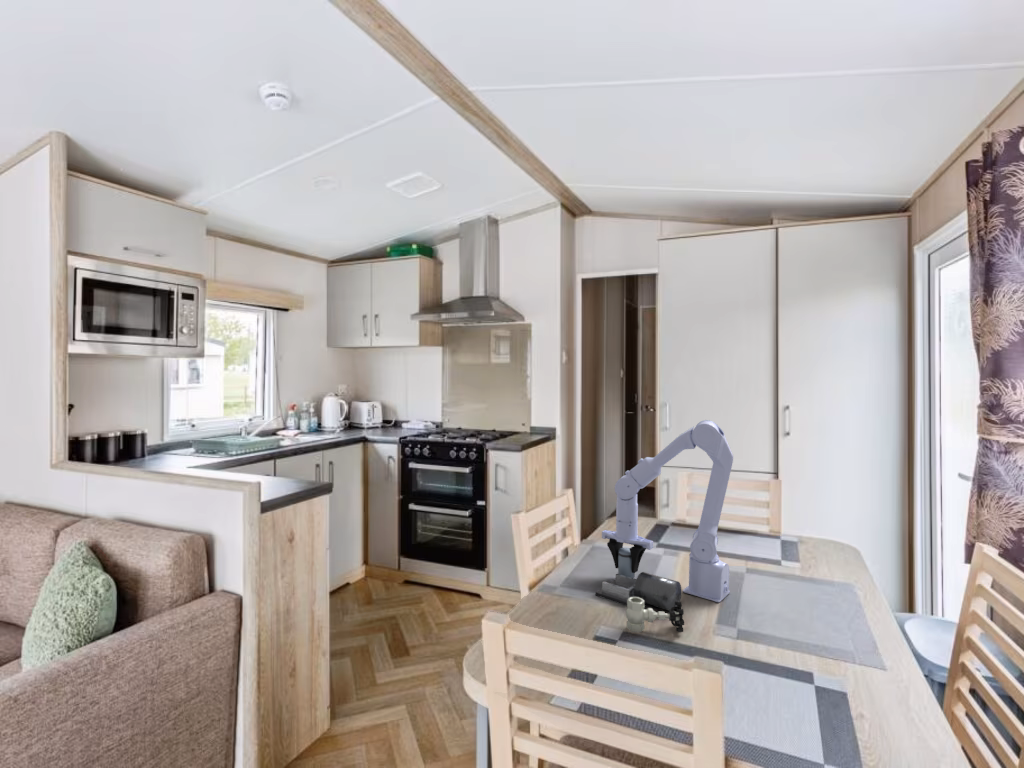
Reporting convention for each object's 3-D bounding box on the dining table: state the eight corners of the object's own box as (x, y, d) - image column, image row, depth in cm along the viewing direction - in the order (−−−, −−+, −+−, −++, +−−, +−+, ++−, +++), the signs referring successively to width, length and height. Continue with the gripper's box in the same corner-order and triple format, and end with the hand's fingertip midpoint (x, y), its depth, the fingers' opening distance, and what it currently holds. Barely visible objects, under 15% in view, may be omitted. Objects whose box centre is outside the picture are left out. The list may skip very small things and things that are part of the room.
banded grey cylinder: (638, 575, 150) (638, 550, 149) (629, 580, 146) (630, 554, 146) (623, 571, 153) (623, 546, 152) (614, 576, 149) (614, 550, 149)
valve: (627, 635, 120) (684, 638, 118) (628, 606, 119) (684, 608, 118) (624, 621, 126) (677, 623, 125) (624, 593, 126) (678, 595, 125)
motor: (683, 603, 135) (684, 575, 134) (666, 618, 127) (666, 588, 127) (615, 583, 147) (615, 557, 147) (595, 595, 140) (595, 568, 139)
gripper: (596, 518, 150) (595, 567, 151) (644, 528, 141) (644, 580, 142) (609, 512, 156) (608, 559, 156) (656, 522, 146) (656, 572, 147)
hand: (626, 569), depth 149 cm, fingers closed on banded grey cylinder, 4 cm apart
